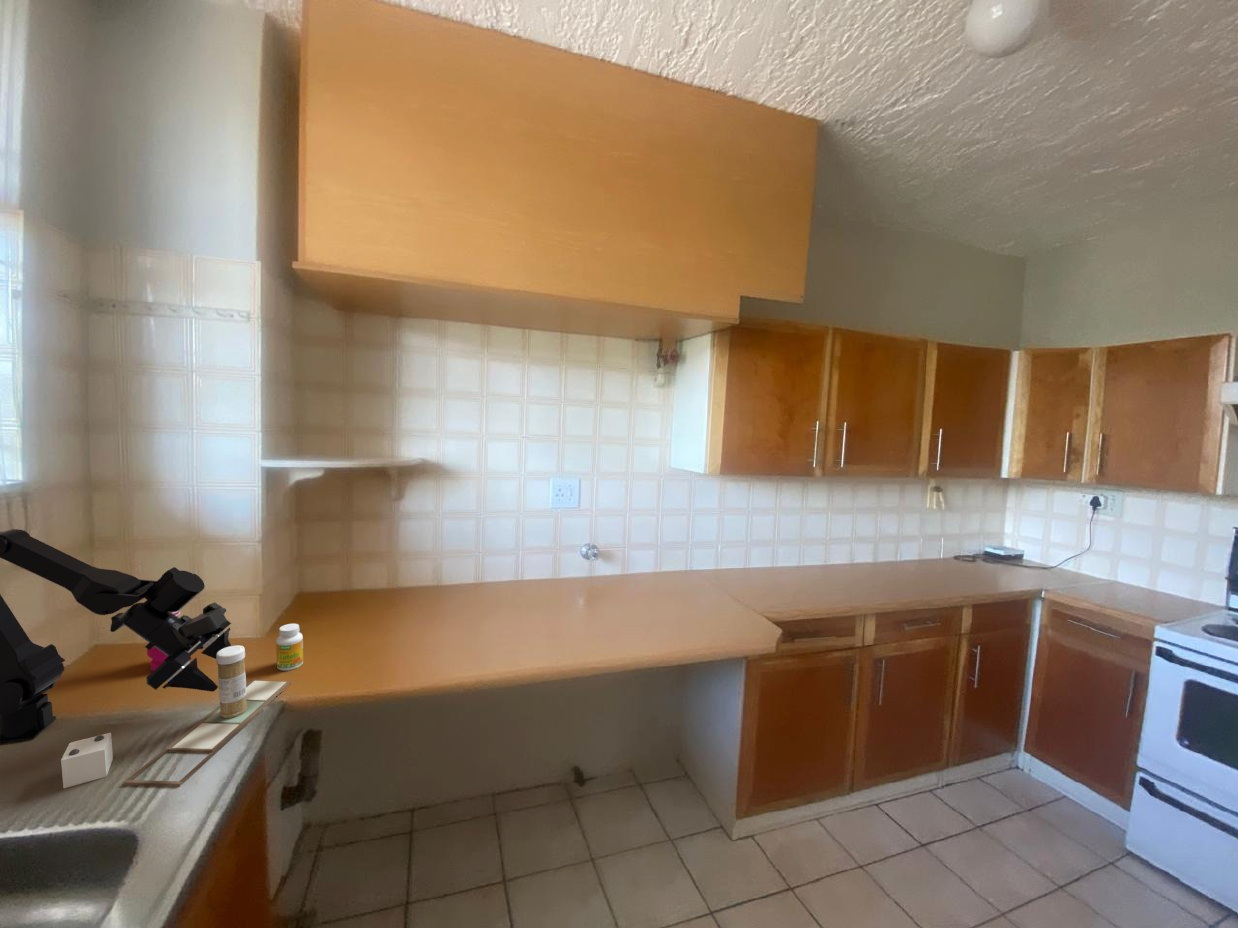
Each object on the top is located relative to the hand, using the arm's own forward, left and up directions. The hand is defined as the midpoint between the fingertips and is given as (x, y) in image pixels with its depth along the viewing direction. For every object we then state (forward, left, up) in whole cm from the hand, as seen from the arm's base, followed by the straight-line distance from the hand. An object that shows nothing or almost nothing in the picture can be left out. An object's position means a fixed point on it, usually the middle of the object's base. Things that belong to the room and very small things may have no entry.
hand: (228, 676), depth 102 cm
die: (-16, -12, -8) cm, 22 cm away
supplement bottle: (+7, +18, -8) cm, 21 cm away
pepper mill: (-19, +25, -8) cm, 33 cm away
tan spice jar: (+1, 0, -8) cm, 8 cm away
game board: (0, -4, -8) cm, 9 cm away
